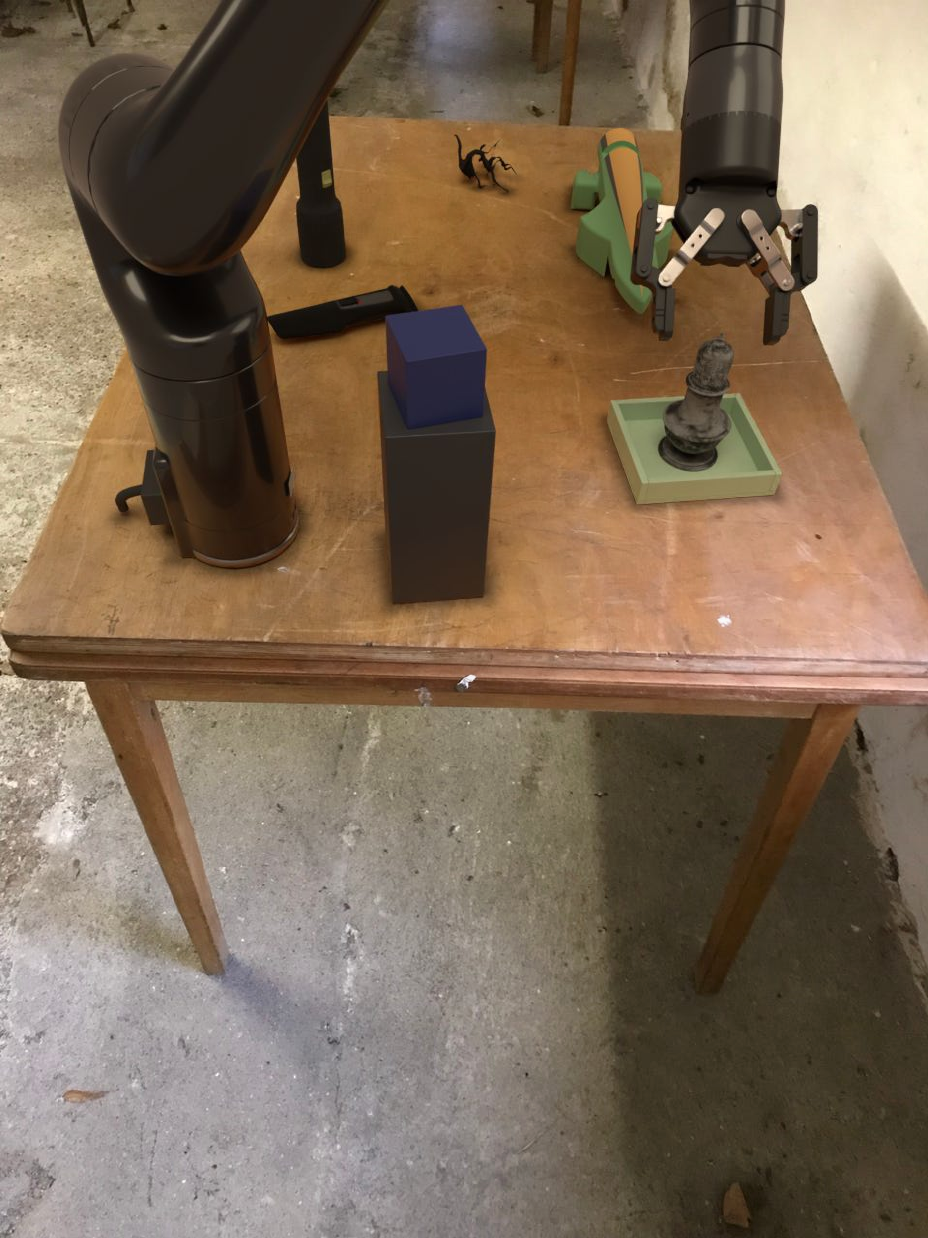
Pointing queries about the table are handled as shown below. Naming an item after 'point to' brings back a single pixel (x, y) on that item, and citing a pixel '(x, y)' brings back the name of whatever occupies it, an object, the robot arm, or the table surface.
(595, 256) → the toy spaceship
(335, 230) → the flashlight
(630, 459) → the pale tray
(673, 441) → the dark grey chess piece
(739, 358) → the table surface
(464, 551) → the dark stand
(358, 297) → the electric trimmer
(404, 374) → the navy block
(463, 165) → the creature
